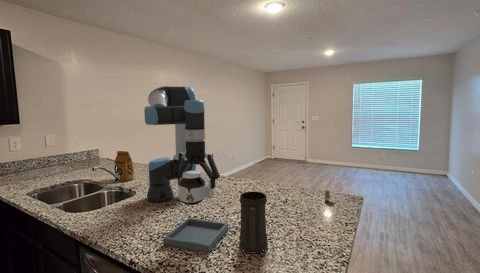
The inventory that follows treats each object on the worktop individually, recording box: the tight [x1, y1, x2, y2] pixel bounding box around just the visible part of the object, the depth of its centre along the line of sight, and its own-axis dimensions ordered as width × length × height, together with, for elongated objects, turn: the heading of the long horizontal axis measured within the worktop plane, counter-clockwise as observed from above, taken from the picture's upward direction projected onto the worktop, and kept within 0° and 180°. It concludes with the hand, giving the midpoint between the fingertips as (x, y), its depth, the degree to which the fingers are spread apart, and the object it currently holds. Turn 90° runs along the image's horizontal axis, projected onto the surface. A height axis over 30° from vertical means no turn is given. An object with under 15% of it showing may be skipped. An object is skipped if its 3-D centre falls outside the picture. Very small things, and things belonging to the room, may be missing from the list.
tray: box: [162, 217, 229, 254], centre depth 103 cm, size 19×19×3 cm
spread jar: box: [177, 170, 215, 206], centre depth 101 cm, size 12×11×12 cm
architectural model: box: [324, 188, 333, 203], centre depth 140 cm, size 3×7×7 cm, turn 158°
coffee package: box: [114, 150, 135, 183], centre depth 190 cm, size 10×12×22 cm
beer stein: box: [238, 191, 269, 253], centre depth 93 cm, size 15×11×20 cm
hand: (196, 194), depth 101 cm, fingers closed on spread jar, 12 cm apart
